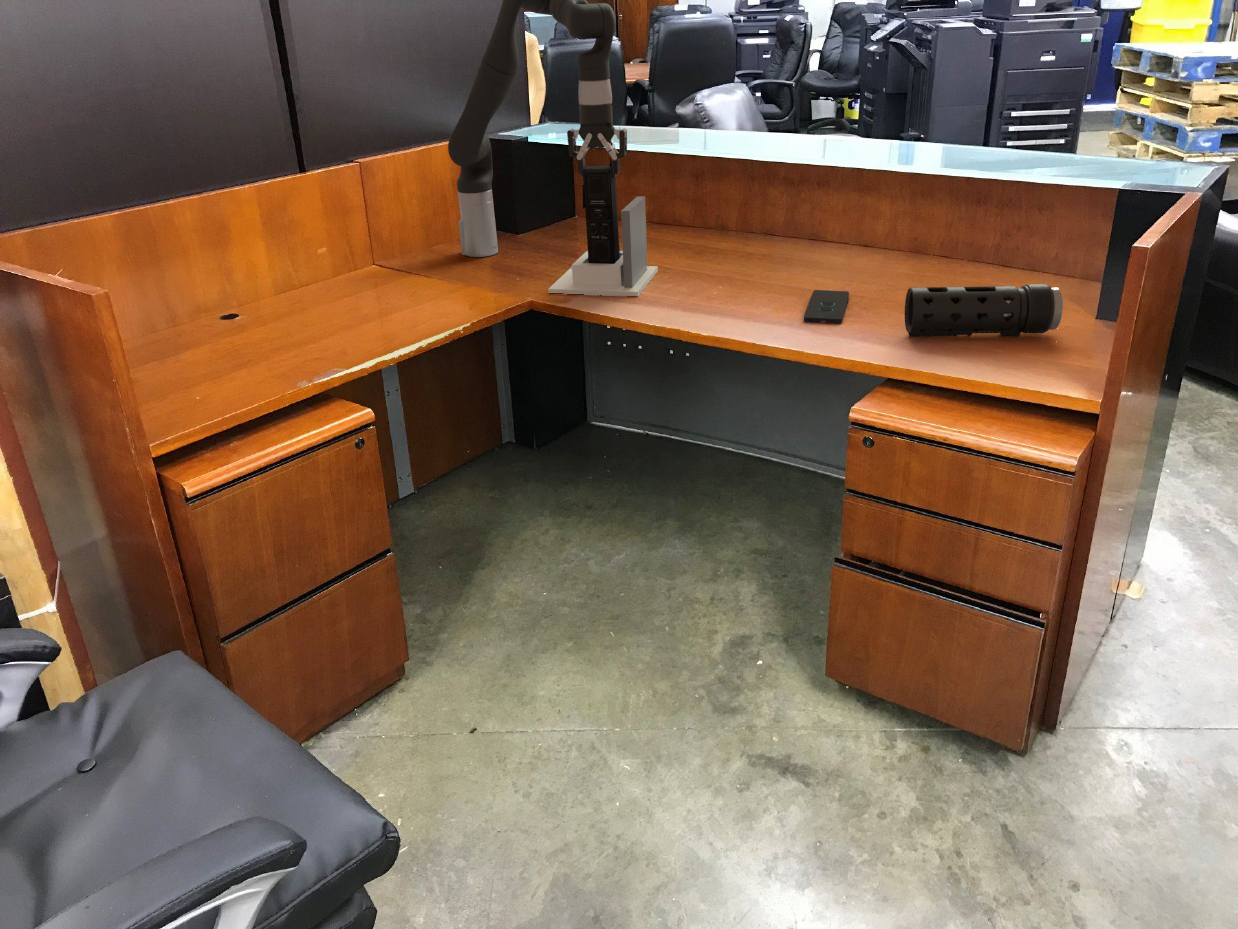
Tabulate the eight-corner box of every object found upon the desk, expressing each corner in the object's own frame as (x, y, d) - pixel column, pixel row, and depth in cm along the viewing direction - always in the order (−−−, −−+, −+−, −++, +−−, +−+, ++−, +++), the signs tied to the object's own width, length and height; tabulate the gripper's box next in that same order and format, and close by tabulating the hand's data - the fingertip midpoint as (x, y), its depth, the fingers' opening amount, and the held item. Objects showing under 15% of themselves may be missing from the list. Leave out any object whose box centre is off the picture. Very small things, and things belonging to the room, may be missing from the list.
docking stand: (548, 293, 229) (542, 212, 221) (574, 268, 248) (569, 193, 239) (637, 296, 224) (635, 213, 215) (657, 270, 243) (655, 193, 234)
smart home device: (802, 316, 202) (813, 289, 219) (802, 324, 203) (812, 296, 220) (842, 318, 200) (850, 290, 217) (842, 326, 201) (849, 298, 218)
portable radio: (583, 265, 233) (575, 159, 221) (591, 259, 238) (584, 154, 227) (614, 266, 231) (608, 159, 219) (621, 259, 236) (615, 154, 224)
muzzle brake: (902, 329, 197) (906, 280, 192) (1043, 327, 194) (1052, 277, 189) (910, 345, 188) (915, 294, 184) (1058, 344, 185) (1067, 292, 181)
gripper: (560, 103, 216) (565, 178, 223) (622, 102, 212) (624, 179, 220) (569, 99, 222) (574, 172, 230) (630, 98, 219) (632, 173, 226)
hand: (599, 175), depth 225 cm, fingers closed on portable radio, 7 cm apart
